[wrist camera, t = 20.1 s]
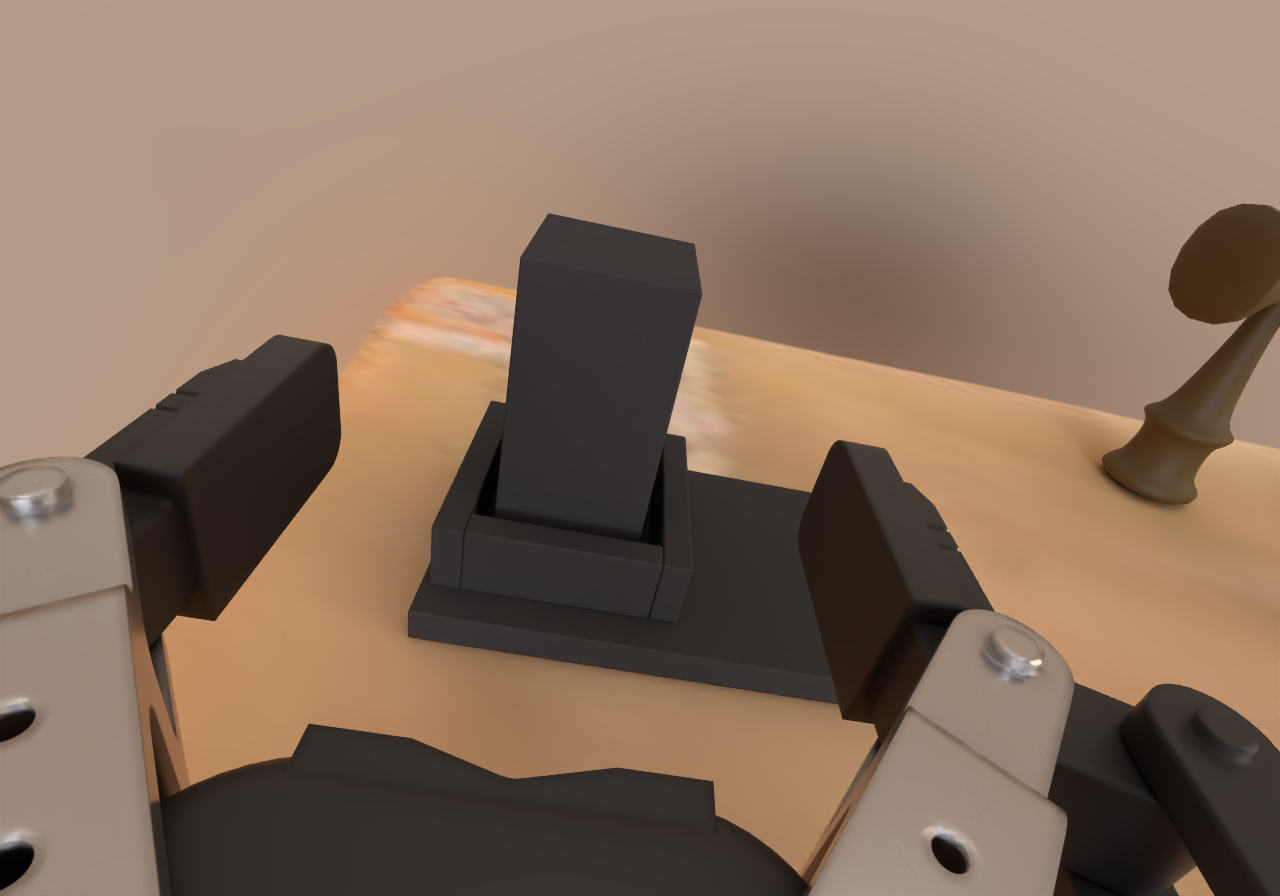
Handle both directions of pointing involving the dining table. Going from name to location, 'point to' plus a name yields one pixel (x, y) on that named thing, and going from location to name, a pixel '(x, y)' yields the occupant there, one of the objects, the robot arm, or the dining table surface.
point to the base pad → (631, 580)
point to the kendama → (1202, 408)
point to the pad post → (593, 374)
